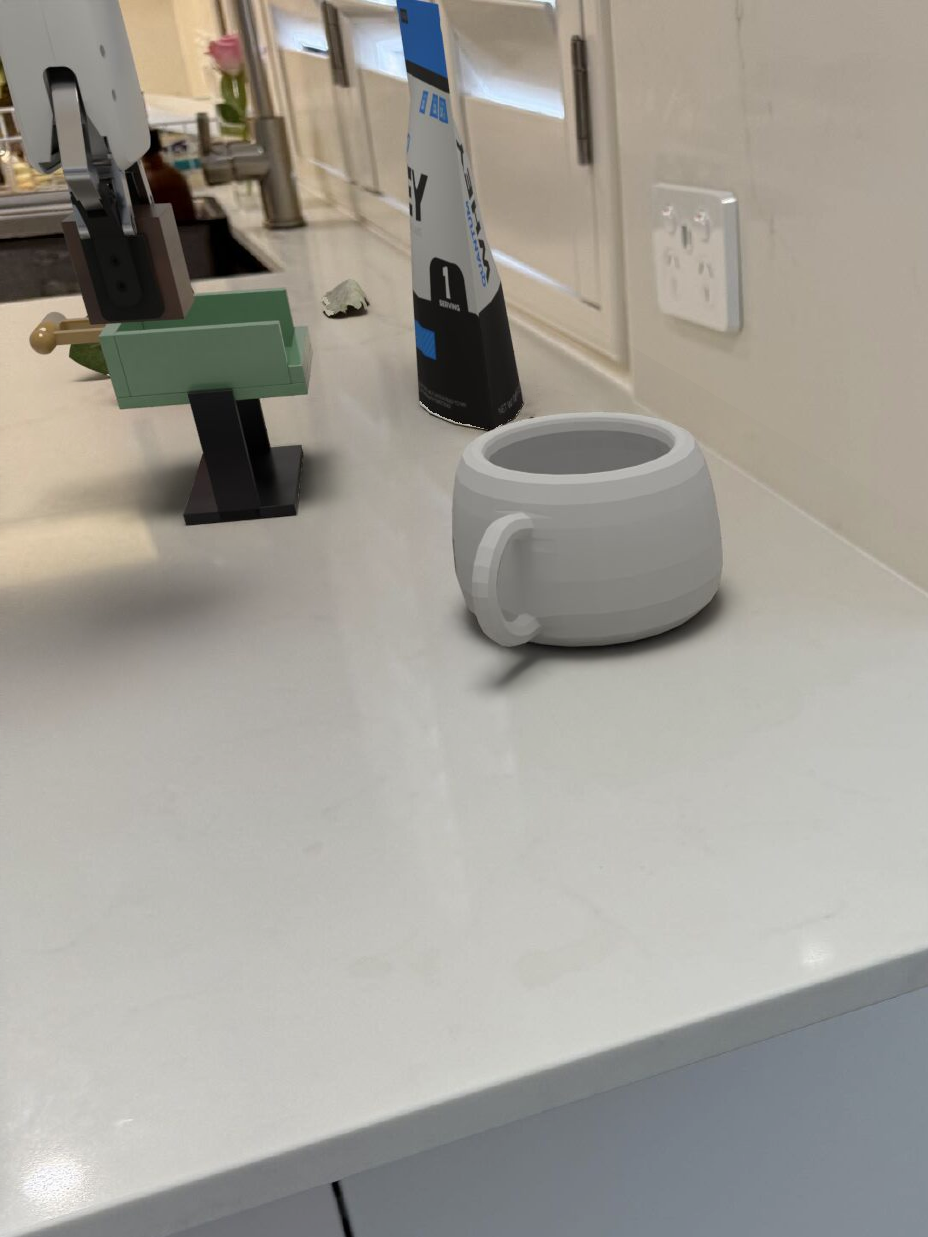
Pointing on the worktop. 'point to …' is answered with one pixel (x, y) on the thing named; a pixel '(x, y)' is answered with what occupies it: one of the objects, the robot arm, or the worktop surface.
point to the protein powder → (451, 249)
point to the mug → (585, 529)
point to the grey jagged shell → (346, 296)
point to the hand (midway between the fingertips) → (141, 304)
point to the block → (164, 258)
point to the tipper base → (239, 463)
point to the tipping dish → (197, 349)
